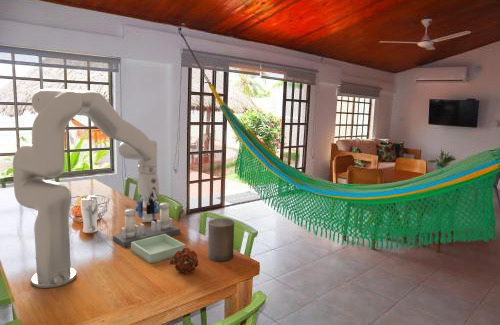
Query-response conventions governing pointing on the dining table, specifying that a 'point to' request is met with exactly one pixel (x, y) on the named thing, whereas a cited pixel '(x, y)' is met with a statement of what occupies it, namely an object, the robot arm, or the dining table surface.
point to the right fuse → (164, 215)
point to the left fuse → (130, 223)
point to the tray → (156, 248)
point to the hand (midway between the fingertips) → (147, 211)
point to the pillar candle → (221, 239)
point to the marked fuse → (146, 216)
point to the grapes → (140, 214)
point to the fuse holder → (145, 233)
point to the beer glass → (89, 213)
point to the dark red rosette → (185, 260)
